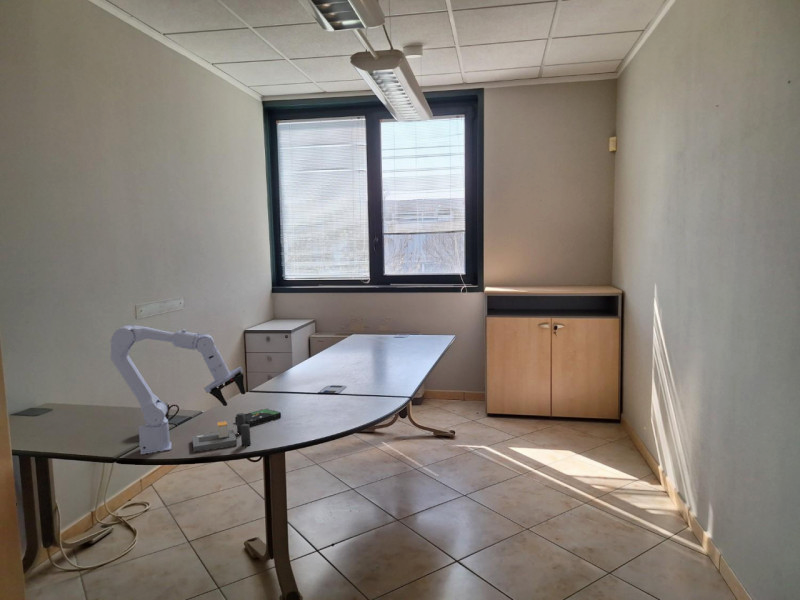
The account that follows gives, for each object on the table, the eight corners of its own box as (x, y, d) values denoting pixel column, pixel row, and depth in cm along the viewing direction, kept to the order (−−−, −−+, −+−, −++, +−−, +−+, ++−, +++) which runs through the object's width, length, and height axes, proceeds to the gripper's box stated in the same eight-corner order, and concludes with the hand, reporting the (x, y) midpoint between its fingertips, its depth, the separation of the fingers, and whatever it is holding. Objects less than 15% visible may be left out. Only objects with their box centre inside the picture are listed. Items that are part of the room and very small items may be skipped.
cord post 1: (237, 434, 197) (236, 416, 197) (236, 432, 200) (235, 413, 199) (246, 433, 198) (245, 414, 198) (245, 431, 201) (244, 412, 200)
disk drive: (249, 429, 205) (281, 418, 216) (249, 421, 205) (281, 411, 216) (235, 423, 212) (267, 414, 223) (234, 416, 212) (266, 407, 223)
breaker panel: (193, 452, 181) (193, 446, 180) (192, 441, 192) (192, 435, 192) (237, 445, 186) (236, 439, 186) (233, 434, 197) (233, 429, 197)
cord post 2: (242, 447, 184) (241, 427, 184) (241, 444, 187) (240, 424, 186) (251, 445, 185) (250, 425, 185) (250, 442, 188) (248, 423, 188)
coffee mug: (144, 435, 200) (142, 409, 199) (148, 428, 208) (146, 403, 207) (178, 431, 203) (176, 405, 202) (180, 424, 211) (178, 400, 210)
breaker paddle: (218, 438, 187) (218, 425, 187) (218, 434, 191) (217, 422, 191) (227, 436, 189) (227, 424, 188) (226, 433, 192) (226, 421, 192)
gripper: (203, 376, 181) (221, 411, 184) (239, 355, 190) (256, 388, 193) (195, 376, 187) (213, 410, 189) (231, 356, 196) (247, 388, 198)
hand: (234, 399), depth 192 cm, fingers open, 7 cm apart
